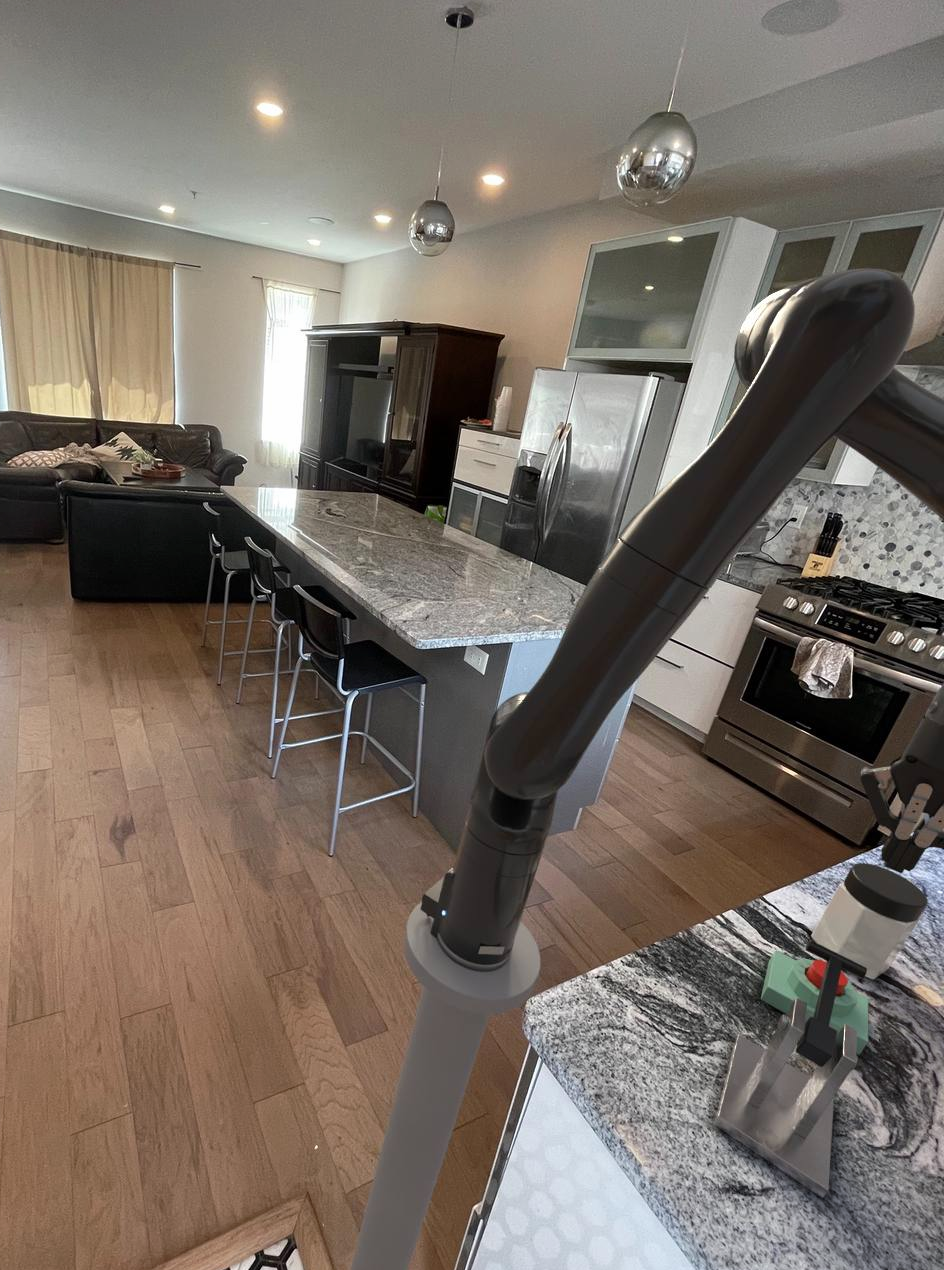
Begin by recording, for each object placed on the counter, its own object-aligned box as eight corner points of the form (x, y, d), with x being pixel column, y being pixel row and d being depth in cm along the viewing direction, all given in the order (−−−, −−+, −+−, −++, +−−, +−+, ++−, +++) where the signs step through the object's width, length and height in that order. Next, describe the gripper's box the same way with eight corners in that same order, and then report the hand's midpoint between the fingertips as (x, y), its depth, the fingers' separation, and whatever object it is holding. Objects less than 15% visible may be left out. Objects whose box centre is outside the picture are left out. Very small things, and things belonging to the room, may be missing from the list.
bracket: (734, 1041, 69) (777, 962, 65) (829, 1098, 64) (882, 1017, 60) (713, 1124, 60) (762, 1039, 55) (822, 1198, 55) (885, 1111, 51)
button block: (760, 999, 75) (773, 975, 74) (768, 962, 81) (780, 938, 80) (859, 1055, 70) (875, 1030, 68) (860, 1010, 76) (875, 986, 75)
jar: (881, 950, 87) (923, 881, 82) (893, 990, 80) (940, 918, 76) (807, 919, 90) (844, 852, 86) (813, 955, 84) (853, 885, 79)
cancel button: (805, 983, 74) (811, 972, 73) (807, 965, 77) (813, 954, 76) (840, 1002, 72) (847, 991, 71) (841, 983, 75) (848, 972, 74)
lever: (804, 946, 67) (813, 934, 65) (860, 974, 64) (870, 962, 63) (778, 1042, 60) (787, 1030, 58) (840, 1078, 57) (851, 1067, 56)
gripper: (1058, 741, 61) (966, 882, 67) (892, 691, 67) (823, 824, 74) (1078, 767, 55) (975, 918, 61) (894, 709, 62) (819, 851, 68)
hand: (892, 866), depth 68 cm, fingers closed
